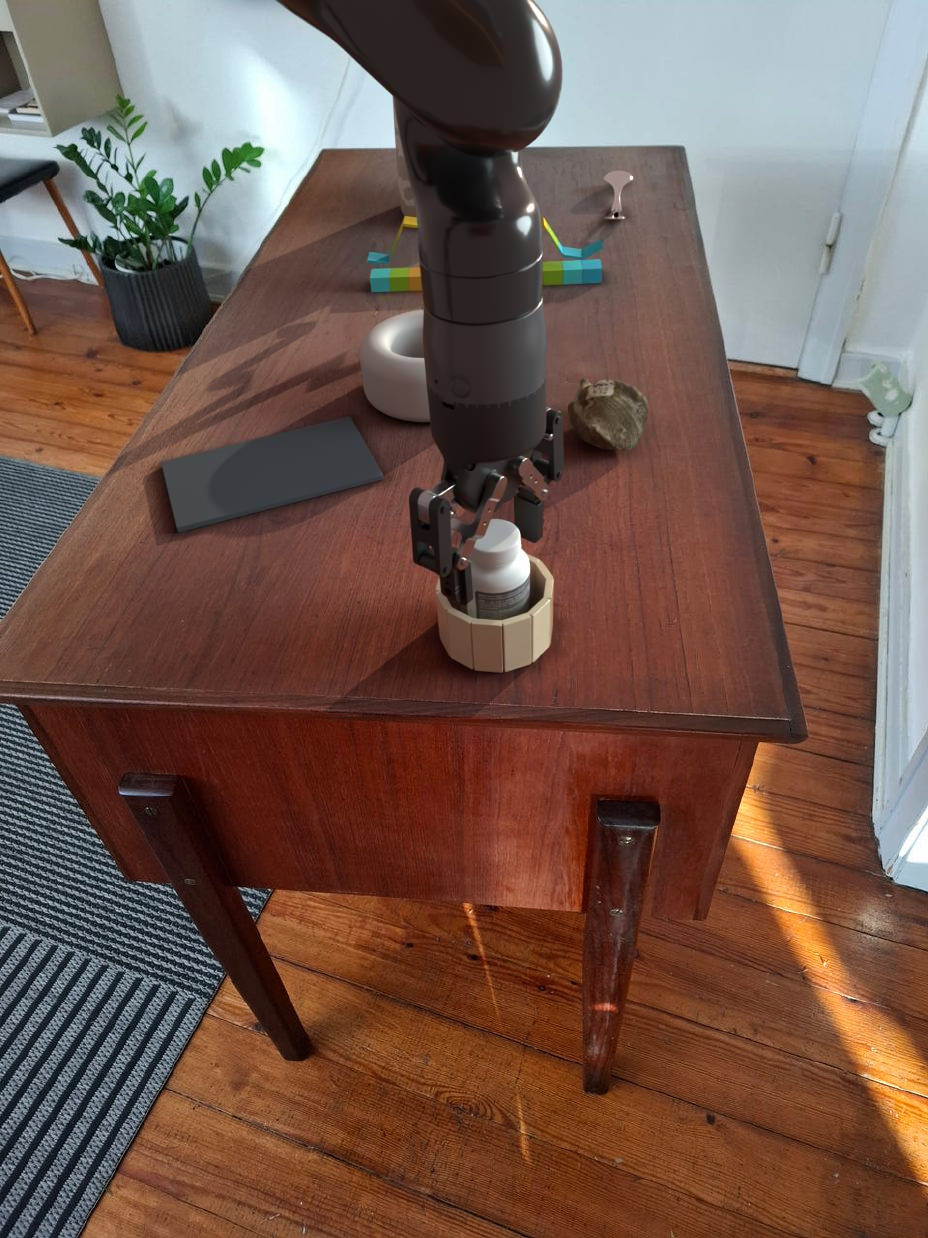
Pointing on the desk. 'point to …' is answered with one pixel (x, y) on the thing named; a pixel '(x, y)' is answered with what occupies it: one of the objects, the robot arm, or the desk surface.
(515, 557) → the pill bottle
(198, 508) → the mat
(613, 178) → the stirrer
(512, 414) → the robot arm
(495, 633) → the bracelet
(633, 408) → the fossilized seashell
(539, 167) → the desk surface
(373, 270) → the chart
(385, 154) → the desk surface
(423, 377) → the fat ring
